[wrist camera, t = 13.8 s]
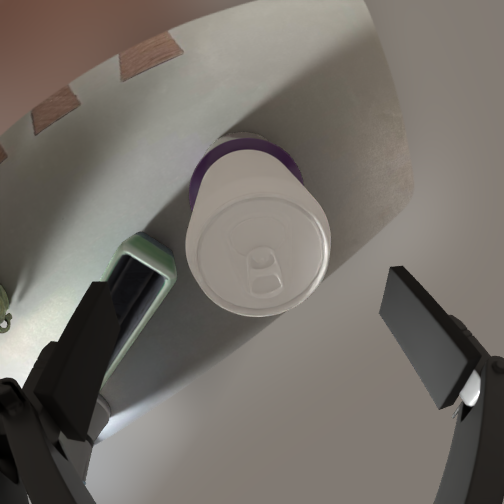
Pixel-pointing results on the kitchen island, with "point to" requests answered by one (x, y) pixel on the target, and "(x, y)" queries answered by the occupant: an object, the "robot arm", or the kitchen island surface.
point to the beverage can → (256, 236)
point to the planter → (137, 288)
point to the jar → (237, 143)
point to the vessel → (4, 310)
